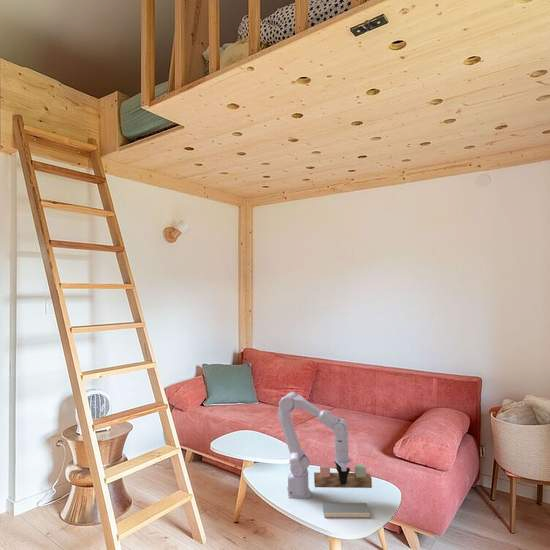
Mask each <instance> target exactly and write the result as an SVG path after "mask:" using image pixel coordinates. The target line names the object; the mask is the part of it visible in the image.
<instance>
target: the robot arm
mask: <svg viewBox="0 0 550 550" xmlns="http://www.w3.org/2000/svg"><path fill="white" fill-rule="evenodd" d="M293 410H303V411H305V412H307V413H309V414H310V415H312V416H314V417H316V418H317V420H318V422H319V423H321V424H322V425H324V426H325V427H327V428H328V429H330V430H332V432H333V434H334V464H335V466H336V467H335V469H336V471H337V473H338V474H339V478H340V483H341V485H346V482H347V476H348V473H351V472H350V471H351V468H350V467H348V465H349V463H352V458H351V457H349V437H348V436H349V435H348V431H349V427H350V424H349V422H348V420H346V419H345V418H342V417H341V418H340V417H339V416H337V415H335V414H333V413H331V411H330V410H329V409H328V410H326V409H323V410H321V409H319V407H317V406H315V405H314V404H313V403H311V402H309V401H308V400H307V399H305V398H304V397H303V396H302V395H300V394H298V393H297V392H295V391H290V392H288V394H286V395H284V396H282V397H281V399H280V400H279V402H278V410H277V417H278V422H279V424H280V427H281V430H282V432H283V435H284V436H283V437H284V439H285V443H286V446H287V447H288V452H289V464H290V465H289V467H290V468H289V469H290V472H288V473H287V486H286V488H287V494H288V495H287V497H288V499H311V494H310V493H311V492H310V487H309V471H308V468H309V466H310V459H309V457H308V456H307V455H306V452H305V451H304V450H303V449H302V447H301V445H300V442H299V438H298V436H297V432H296V430H295V425H294V424H293V420H292V417H291V414H292V412H293Z"/></svg>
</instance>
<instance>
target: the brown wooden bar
mask: <svg viewBox="0 0 550 550" xmlns="http://www.w3.org/2000/svg"><path fill="white" fill-rule="evenodd" d="M372 479H373V478H372V476H371V473H370V472H366V478H356V475H355V472H349V473H348V476H347V482H346V485H341V483H340V478H339V474H338V472H330V477H321V475H320V472H314V473H313V480H314V481H313V482H314V488H338V489H339V488H341V489H343V488H344V489H345V488H346V489H349V488H350V489H351V488H352V489H354V488H357V489H372V487H373V481H372Z"/></svg>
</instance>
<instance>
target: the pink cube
mask: <svg viewBox="0 0 550 550" xmlns="http://www.w3.org/2000/svg"><path fill="white" fill-rule="evenodd" d="M319 473H320V475H321V477H330V473H331V467H330V463H319Z"/></svg>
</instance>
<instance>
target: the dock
mask: <svg viewBox="0 0 550 550" xmlns="http://www.w3.org/2000/svg"><path fill="white" fill-rule="evenodd" d="M322 511H323V516H324V518H371V512H370V510H369V507H368V505H367V502H322Z"/></svg>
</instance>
